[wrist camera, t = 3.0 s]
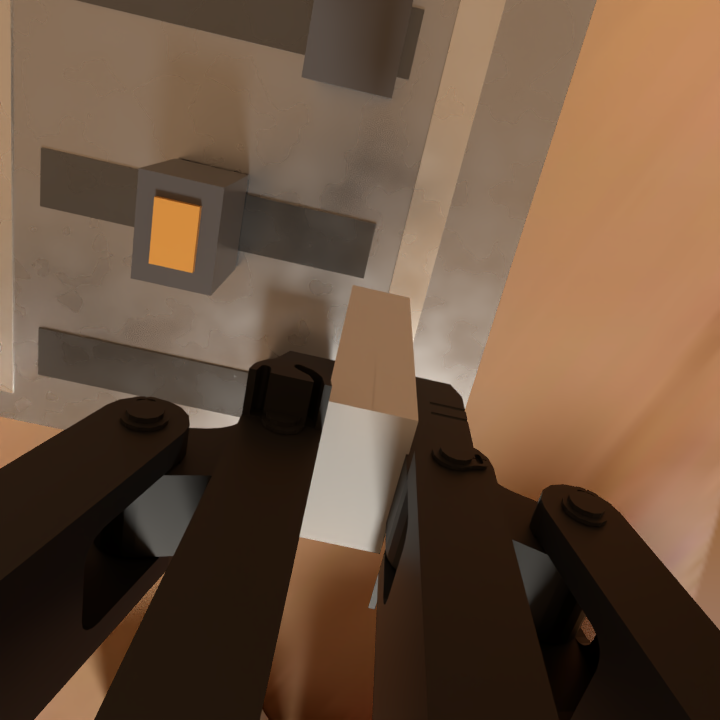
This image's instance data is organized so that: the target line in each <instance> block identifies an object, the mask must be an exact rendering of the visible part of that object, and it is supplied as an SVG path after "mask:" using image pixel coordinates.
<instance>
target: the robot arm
mask: <svg viewBox="0 0 720 720" xmlns="http://www.w3.org/2000/svg"><path fill="white" fill-rule="evenodd" d="M189 426H190V422H189V415H188V414H187V413H186V412H185V411H184V410H183V409H182V408H181V407H180V406H178V405H176V404H174V403H172V402H170V401H166V400H162V399H158V398H156V397H145V396H137V397H132V398H125V399H119V400H117V401H114V402H112V403H109V404H107V405H105V406H103V407H102V408H100V409H98V410H97V411H95V412H94V413H92V414H90V415H89V416H87V417H85V418H84V419H82V420H80V421H79V422H77V423H75V424H74V425H72V426H70V427H69V428H67V429H65V430H64V431H62V432H60V433H59V434H57V435H55V436H54V437H52V438H50V439H49V440H47V441H45V442H44V443H42V444H40V445H39V446H37V447H35V448H34V449H32V450H31V451H29V452H27V453H26V454H24V455H22V456H21V457H19V458H17V459H16V460H14V461H12V462H11V463H9V464H7V465H6V466H4V467H2V468H1V469H0V720H34V719H35V718H36V717H37V716H38V715H39V713H40V712H41V711H42V710H43V709H44V708H45V707H46V706H47V704H48V703H49V702H50V701H51V700H52V699H53V698H54V697H55V695H56V694H57V693H58V692H59V691H60V690H61V689H62V688H63V686H64V685H65V684H66V683H67V682H68V681H69V680H70V678H71V677H72V676H73V675H74V674H75V673H76V672H77V671H78V669H79V668H80V667H81V666H82V665H83V664H84V663H85V662H86V660H87V659H88V658H89V657H90V656H91V655H92V654H93V653H94V651H95V650H96V649H97V648H98V647H99V646H100V645H101V644H102V642H103V641H104V640H105V639H106V638H107V637H108V636H109V635H110V633H111V632H112V631H113V630H114V629H115V628H116V627H117V626H118V624H119V623H120V622H121V621H122V620H123V619H124V618H125V616H126V615H127V614H128V613H129V612H130V611H131V610H132V609H133V607H134V606H135V605H136V604H137V603H138V602H139V601H140V600H141V598H142V597H143V596H144V595H145V594H146V593H147V592H148V591H149V589H150V588H151V587H152V586H153V585H154V584H155V583H156V582H157V580H158V579H159V578H160V577H161V576H162V575H163V574H164V573H165V574H164V576H163V578H162V580H161V582H160V584H159V586H158V589H157V591H156V593H155V595H154V597H153V599H152V601H151V603H150V605H149V607H148V609H147V611H146V613H145V616H144V618H143V620H142V622H141V624H140V626H139V628H138V630H137V632H136V634H135V636H134V638H133V640H132V642H131V645H130V647H129V649H128V651H127V653H126V655H125V657H124V659H123V661H122V663H121V665H120V667H119V669H118V671H117V674H116V676H115V678H114V680H113V682H112V684H111V686H110V688H109V690H108V692H107V694H106V696H105V698H104V700H103V703H102V705H101V707H100V709H99V711H98V713H97V715H96V717H95V719H94V720H260V717H261V712H262V707H263V703H264V698H265V694H266V689H267V684H268V680H269V675H270V670H271V666H272V661H273V656H274V652H275V647H276V643H277V638H278V633H279V629H280V624H281V619H282V615H283V610H284V606H285V601H286V596H287V592H288V587H289V582H290V578H291V573H292V568H293V564H294V559H295V555H296V550H297V545H298V541H299V537H303V538H307V539H312V540H317V541H322V542H326V543H331V544H336V545H341V546H345V547H350V548H355V549H360V550H364V551H369V552H374V553H379V554H380V551H381V547H382V544H383V541H384V537H385V534H386V549H385V553H384V556H383V560H382V563H381V566H380V570H379V573H378V576H377V580H376V583H375V587H374V590H373V593H372V597H371V600H370V603H369V607H368V608H371V609H375V607H376V604H377V617H376V641H375V666H374V691H373V715H372V720H720V630H719V629H718V628H717V627H716V625H715V624H714V623H713V622H712V621H711V620H710V618H709V617H708V616H707V615H706V614H705V613H704V611H703V610H702V609H701V608H700V607H699V605H698V604H697V603H696V602H695V601H694V600H693V598H692V597H691V596H690V595H689V594H688V592H687V591H686V590H685V589H684V588H683V587H682V585H681V584H680V583H679V582H678V581H677V579H676V578H675V577H674V576H673V575H672V574H671V572H670V571H669V570H668V569H667V568H666V566H665V565H664V564H663V563H662V562H661V561H660V559H659V558H658V557H657V556H656V555H655V554H654V552H653V551H652V550H651V549H650V548H649V546H648V545H647V544H646V543H645V542H644V541H643V539H642V538H641V537H640V536H639V535H638V533H637V532H636V531H635V530H634V529H633V528H632V526H631V525H630V524H629V523H628V522H627V521H626V519H625V518H624V517H623V516H622V515H621V513H620V512H618V511H617V510H616V509H615V508H614V507H613V506H612V505H611V504H610V503H609V502H607V501H605V500H604V499H602V498H600V497H599V496H598V495H597V494H595V493H593V492H591V491H589V490H587V491H586V490H585V489H583V488H580V487H574V486H569V485H563V484H562V485H550V486H549V487H547V488H545V489H544V490H543V491H542V493H541V496H540V498H539V501H538V502H536V501H534V500H532V499H529V498H527V497H524V496H522V495H519V494H517V493H515V492H512V491H510V490H508V489H506V488H504V487H502V486H501V485H499V484H498V483H497V480H496V476H495V472H494V468H493V466H492V464H491V463H490V461H489V459H488V458H487V457H486V456H484V455H483V454H482V453H481V452H480V451H479V450H477V449H475V448H473V443H472V439H471V434H470V430H469V425H468V422H467V416H466V412H465V407H464V403H463V398H462V396H461V395H460V394H459V393H458V392H457V391H456V390H455V389H454V388H453V387H452V385H451V384H447V383H442V382H438V381H433V380H429V379H424V378H420V377H415V364H414V350H413V336H412V322H411V308H410V298H409V297H404V296H400V295H395V294H391V293H386V292H382V291H378V290H373V289H369V288H364V287H360V286H356V285H353V286H352V291H351V295H350V299H349V304H348V308H347V312H346V317H345V321H344V325H343V330H342V334H341V338H340V343H339V347H338V351H337V356H336V360H330V359H326V358H321V357H317V356H312V355H308V354H303V353H299V352H294V351H289V352H287V353H285V354H283V355H281V356H279V357H277V358H276V359H266V360H262V361H259V362H256V363H254V364H253V365H252V366H251V367H250V368H249V372H248V378H247V385H246V391H245V397H244V403H243V410H242V414H241V417H240V419H239V421H238V423H237V424H235V425H232V426H228V427H222V428H189ZM165 571H166V572H165ZM585 617H587V618H588V620H589V621H590V623H591V624H592V626H593V628H594V630H595V633H596V636H595V638H594V640H593V641H592V642H590V641H589V640H588V639H587V637H586V636H585V634H584V633H583V631H582V629H581V628H580V627H581V625H582V623H583V621H584V619H585Z"/></svg>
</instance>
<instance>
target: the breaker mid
mask: <svg viewBox="0 0 720 720" xmlns="http://www.w3.org/2000/svg"><path fill="white" fill-rule="evenodd" d="M248 176H249V175H246V174H241V173H237V172H233V171H228V170H224V169H220V168H215V167H211V166H207V165H202V164H198V163H194V162H189V161H185V160H181V159H176V158H175V159H171V160H167V161H164V162H160V163H156V164H152V165H148V166H145V167H141V168H139V169H138V183H137V196H136V210H135V224H134V238H133V251H132V265H131V279H136V280H141V281H145V282H150V283H154V284H159V285H163V286H168V287H172V288H177V289H181V290H186V291H190V292H195V293H200V294H204V295H209V296H211V295H212V294H213V293H214V292H215V291H216V290H217V288H218V287H219V286H220V285H221V284H222V283H223V282H224V281H225V280H226V279H227V278H228V276H229V275H230V274H231V273H232V272H233V271H234V270H235V268H236V261H237V253H238V246H239V239H240V232H241V225H242V218H243V211H244V204H245V197H246V190H247V183H248Z"/></svg>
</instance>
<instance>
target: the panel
mask: <svg viewBox="0 0 720 720" xmlns="http://www.w3.org/2000/svg"><path fill="white" fill-rule="evenodd" d="M313 3H314V0H0V417H5V418H10V419H15V420H20V421H24V422H29V423H34V424H39V425H44V426H48V427H53V428H58V429H63V430H65V429H67V428H69V427H70V426H72V425H74V424H75V423H77V422H79V421H80V420H82V419H84V418H85V417H87V416H89V415H90V414H92V413H94V412H95V411H97V410H98V409H100V408H102V407H103V406H105V405H107V404H109V403H112V402H114V401H117V400H119V399H125V398H132V397H137V396H145V397H156V398H158V399H162V400H166V401H170V402H172V403H174V404H176V405H178V406H180V407H181V408H182V409H183V410H184V411H185V412H186V413H187V414H188V415H189V422H190V426H189V428H222V427H228V426H232V425H235V424H237V423H238V421H239V419H240V417H241V414H242V410H243V403H244V397H245V391H246V385H247V378H248V372H249V368H250V367H251V366H252V365H253V364H254V363H256V362H259V361H262V360H266V359H276V358H277V357H279V356H281V355H283V354H285V353H287V352H289V351H294V352H299V353H303V354H308V355H312V356H317V357H321V358H326V359H330V360H336V356H337V351H338V347H339V343H340V338H341V334H342V330H343V325H344V321H345V317H346V312H347V308H348V304H349V299H350V295H351V291H352V286H353V285H356V286H360V287H364V288H369V289H373V290H378V291H382V292H386V293H391V294H395V295H400V296H404V297H409V298H410V308H411V322H412V336H413V350H414V364H415V377H420V378H424V379H429V380H433V381H438V382H442V383H447V384H451V385H452V387H453V388H454V389H455V390H456V391H457V392H458V393H459V394H460V395H461V396H462V398H463V403H464V407H466V404H467V401H468V398H469V395H470V392H471V389H472V386H473V382H474V379H475V376H476V373H477V370H478V367H479V364H480V361H481V358H482V354H483V351H484V348H485V345H486V342H487V339H488V336H489V333H490V330H491V327H492V323H493V320H494V317H495V314H496V311H497V308H498V305H499V302H500V299H501V295H502V292H503V289H504V286H505V283H506V280H507V277H508V274H509V271H510V268H511V264H512V261H513V258H514V255H515V252H516V249H517V246H518V243H519V240H520V236H521V233H522V230H523V227H524V224H525V221H526V218H527V215H528V212H529V209H530V205H531V202H532V199H533V196H534V193H535V190H536V187H537V184H538V181H539V177H540V174H541V171H542V168H543V165H544V162H545V159H546V156H547V153H548V150H549V146H550V143H551V140H552V137H553V134H554V131H555V128H556V125H557V122H558V118H559V115H560V112H561V109H562V106H563V103H564V100H565V97H566V94H567V91H568V87H569V84H570V81H571V78H572V75H573V72H574V69H575V66H576V63H577V59H578V56H579V53H580V50H581V47H582V44H583V41H584V38H585V35H586V31H587V28H588V25H589V22H590V19H591V16H592V13H593V10H594V7H595V4H596V0H413V4H412V9H411V13H410V18H409V23H408V27H407V32H406V36H405V41H404V45H403V50H402V54H401V59H400V64H399V68H398V73H397V77H396V82H395V86H394V91H393V95H392V99H388V98H384V97H380V96H376V95H371V94H367V93H363V92H359V91H355V90H350V89H346V88H342V87H338V86H334V85H329V84H325V83H321V82H317V81H313V80H310V79H306V78H303V77H301V76H302V70H303V64H304V58H305V52H306V46H307V40H308V33H309V27H310V21H311V15H312V9H313ZM175 158H176V159H181V160H185V161H189V162H194V163H198V164H202V165H207V166H211V167H215V168H220V169H224V170H228V171H233V172H237V173H241V174H246V175H249V176H248V183H247V190H246V197H245V204H244V211H243V218H242V225H241V232H240V239H239V246H238V253H237V261H236V268H235V270H234V271H233V272H232V273H231V274H230V275H229V276H228V278H227V279H226V280H225V281H224V282H223V283H222V284H221V285H220V286H219V287H218V288H217V290H216V291H215V292H214V293H213V294H212V295H211V296H209V295H204V294H200V293H195V292H190V291H186V290H181V289H177V288H172V287H168V286H163V285H159V284H154V283H150V282H145V281H141V280H136V279H131V265H132V251H133V238H134V224H135V210H136V196H137V183H138V169H139V168H141V167H145V166H148V165H152V164H156V163H160V162H164V161H167V160H171V159H175Z"/></svg>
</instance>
